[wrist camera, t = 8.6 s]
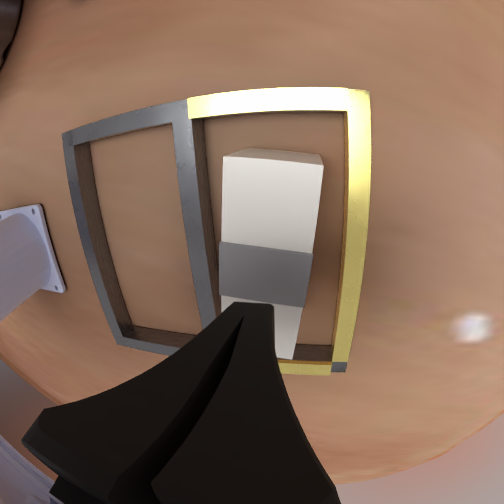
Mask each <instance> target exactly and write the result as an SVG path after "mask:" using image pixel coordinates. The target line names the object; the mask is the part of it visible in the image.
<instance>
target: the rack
mask: <svg viewBox="0 0 504 504" xmlns="http://www.w3.org/2000/svg"><path fill="white" fill-rule="evenodd" d="M290 112H330V113H344V133H345V197H344V223H343V241H342V256H341V268H340V279H339V290H338V299H337V308H336V316H335V324H334V332H333V339H332V345H331V346H322V345H296V344H295V349H294V354H293V358H292V360H291V359H284V358H277V360H278V364H279V368H280V372H281V373H284V374H301V375H330V373H331V372H345V371H346V366H347V362H348V357H349V353H350V348H351V343H352V338H353V333H354V327H355V322H356V316H357V310H358V304H359V298H360V291H361V284H362V277H363V269H364V260H365V251H366V241H367V230H368V217H369V202H370V178H371V121H370V98H369V91H366V90H352V89H347V88H326V87H297V88H271V89H257V90H245V91H235V92H226V93H218V94H211V95H204V96H198V97H192V98H187V99H186V100H180V101H175V102H170V103H165V104H160V105H156V106H151V107H147V108H143V109H139V110H135V111H131V112H127V113H123V114H120V115H116V116H113V117H109V118H106V119H103V120H100V121H96V122H93V123H90V124H87V125H84V126H81V127H79V128H76V129H73V130H70V131H68V132H65V133H62V140H63V149H64V157H65V164H66V171H67V177H68V183H69V188H70V194H71V199H72V204H73V209H74V213H75V218H76V222H77V226H78V230H79V234H80V238H81V242H82V246H83V249H84V253H85V256H86V260H87V263H88V267H89V270H90V273H91V276H92V279H93V282H94V285H95V288H96V291H97V294H98V297H99V300H100V303H101V305H102V308H103V311H104V313H105V316H106V319H107V321H108V324H109V326H110V329H111V331H112V333H113V336H114V338H115V341H116V343H117V344H118V345H122V346H126V347H130V348H135V349H139V350H144V351H149V352H153V353H158V354H163V355H169V356H171V355H172V354H174V353H175V352H176V351H178V350H179V349H180V348H181V347H183V346H184V345H185V344H187V343H188V342H189V341H190V340H192V339H193V338H194V337H195V336H196V335H189V334H181V333H175V332H168V331H162V330H155V329H149V328H144V327H138V326H133V325H132V324H131V321H130V318H129V315H128V312H127V309H126V306H125V303H124V300H123V297H122V294H121V291H120V287H119V284H118V281H117V277H116V274H115V271H114V267H113V263H112V260H111V256H110V252H109V248H108V244H107V240H106V236H105V232H104V227H103V223H102V218H101V214H100V209H99V204H98V198H97V193H96V187H95V181H94V175H93V169H92V162H91V154H90V146H89V142H93V141H96V140H100V139H104V138H108V137H111V136H116V135H120V134H124V133H128V132H133V131H137V130H142V129H147V128H152V127H157V126H162V125H168V124H172V125H173V136H174V146H175V156H176V165H177V174H178V182H179V190H180V198H181V205H182V213H183V220H184V226H185V233H186V240H187V246H188V252H189V258H190V264H191V270H192V276H193V281H194V287H195V292H196V297H197V302H198V308H199V313H200V318H201V323H202V327H203V329H204V328H206V327H207V326H208V325H209V324H210V323H211V322H212V321H213V320H214V319H216V318H217V317H218V316H219V315H220V314H221V295H219V270H218V262H217V254H216V246H215V238H214V229H213V221H212V212H211V203H210V193H209V183H208V173H207V163H206V152H205V140H204V128H203V119H209V118H217V117H226V116H237V115H249V114H265V113H290Z"/></svg>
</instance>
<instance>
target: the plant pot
mask: <svg viewBox="0 0 504 504" xmlns="http://www.w3.org/2000/svg"><path fill="white" fill-rule="evenodd" d="M20 8H21V0H0V68H1V66H2V63H3V61H4V59H3V53H4V50H5V49H6V47H7V46H8V44H9V43H10V42H11V41H12V38H13V35H14V32H15V29H16V26H17V22H18V18H19V14H20Z"/></svg>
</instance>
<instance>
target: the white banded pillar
mask: <svg viewBox="0 0 504 504" xmlns="http://www.w3.org/2000/svg"><path fill="white" fill-rule="evenodd" d="M323 166H324V165H323V163H322V160H321V157H320V155H319V154H312V153H303V152H294V151H284V150H273V149H261V148H246V149H243V150H240V151H237V152H234V153H231V154H228V155H226V156H223V183H222V234H221V241H220V242H219V295H221V313H222V312H223V311H224V310H225V309H226V308H227V307H228V306H230V305H231V304H232V303H233V302H234V301H235V302H250V303H268V304H272V305H273V306H274V319H275V351H276V356H277V358H284V359H291V360H292V358H293V354H294V349H295V344H296V339H297V335H298V330H299V325H300V319H301V314H302V309H303V308H304V306H305V301H306V295H307V290H308V284H309V278H310V272H311V266H312V260H313V253H312V250H313V244H314V237H315V230H316V223H317V216H318V208H319V200H320V192H321V184H322V175H323Z"/></svg>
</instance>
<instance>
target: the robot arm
mask: <svg viewBox="0 0 504 504" xmlns="http://www.w3.org/2000/svg"><path fill="white" fill-rule="evenodd" d="M39 289H44V290H49V291H54V292H59V293H63V292H65V290H66V288H65V285H64V282H63V279H62V276H61V273H60V270H59V267H58V264H57V261H56V258H55V255H54V251H53V248H52V245H51V241H50V238H49V234H48V230H47V226H46V222H45V218H44V214H43V210H42V207H41V205H40V204H34V205H29V206H23V207H18V208H13V209H8V210H3V211H0V322H1V321H2V320H3V319H4V318H5V317H7V316H8V315H9V314H10V313H11V312H12V311H14V310H15V309H16V308H17V307H18V306H20V305H21V304H22V303H23V302H24V301H26V300H27V299H28V298H29V297H31V296H32V295H33V294H34V293H36V292H37V291H38V290H39ZM21 441H22V444H23V445H24V446H25V447H26V448H27V449H28V450H29V451H30V452H31V453H32V454H33V455H34V456H36V457H37V458H38V459H39V460H40V461H41V462H42V463H44V464H45V465H46V466H47V467H49V468H50V469H51V470H52V471H54V472H55V473H56V474H58V475H59V476H58V478H57V479H56V481H53V480H52V479H50V478H49V477H48V476H46V475H45V474H44V473H43V472H41V471H40V470H38V469H37V468H36V467H35V466H34V465H32V464H31V463H30V462H29V461H27V460H26V459H25V458H24V457H23V456H22V455H21V454H19V453H18V452H17V451H16V450H15V449H14V448H13V447H12V446H11V445H10V444H9V443H8V442H7V441H6V440H5V439H4V438H3V437H2V436H1V435H0V504H341V503H340V500H339V497H338V494H337V490H336V487H335V485H334V484H333V482H332V481H331V479H330V477H329V476H328V474H327V473H326V471H325V470H324V468H323V466H322V465H321V463H320V461H319V460H318V458H317V456H316V454H315V452H314V451H313V449H312V447H311V445H310V443H309V441H308V440H307V437H306V435H305V433H304V431H303V429H302V427H301V425H300V422H299V420H298V418H297V416H296V414H295V412H294V409H293V407H292V404H291V401H290V399H289V396H288V394H287V391H286V388H285V385H284V382H283V379H282V375H281V372H280V368H279V364H278V360H277V356H276V351H275V319H274V306H273V305H272V304H268V303H250V302H235V301H234V302H233V303H232V304H231V305H230V306H228V307H227V308H226V309H225V310H224V311H223V312H222V313H221V314H220V315H219V316H218V317H217V318H216V319H214V320H213V321H212V322H211V323H210V324H209V325H208V326H207V327H206V328H204V329H203V330H202V331H201V332H200V333H199V334H198V335H196V336H195V337H194V338H193V339H192V340H190V341H189V342H188V343H187V344H185V345H184V346H183V347H181V348H180V349H179V350H178V351H176V352H175V353H174V354H172V355H171V356H169V357H168V358H167V359H165V360H164V361H162V362H161V363H159V364H157V365H156V366H154V367H152V368H151V369H149V370H148V371H146V372H144V373H142V374H140V375H138V376H136V377H135V378H133V379H131V380H129V381H126V382H124V383H122V384H120V385H118V386H116V387H114V388H112V389H109V390H107V391H104V392H102V393H99V394H97V395H94V396H91V397H88V398H85V399H82V400H79V401H76V402H72V403H68V404H64V405H60V406H56V407H51V408H46V409H44V410H43V411H42V412H41V414H40V415H39V416H38V418H37V419H36V420H35V422H34V423H33V424H32V426H31V427H30V428H29V430H28V431H27V433H26V434H25V435H24V437H23V438H22V439H21Z"/></svg>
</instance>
